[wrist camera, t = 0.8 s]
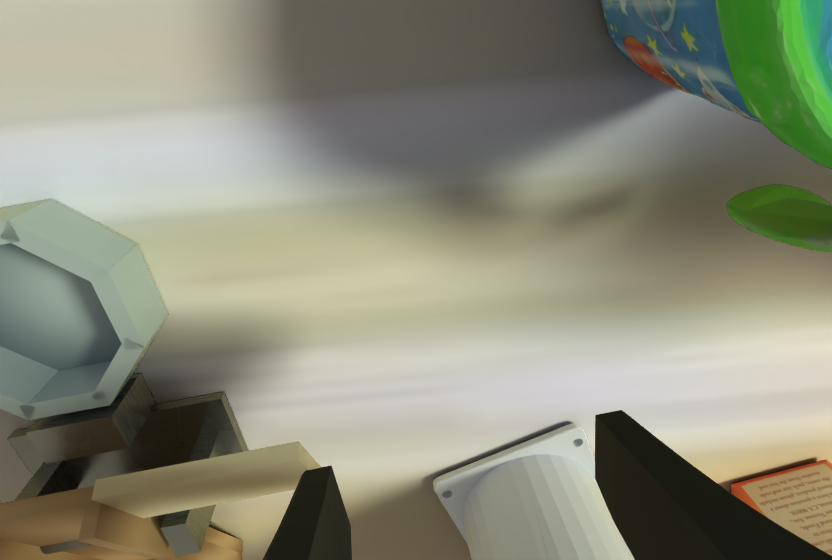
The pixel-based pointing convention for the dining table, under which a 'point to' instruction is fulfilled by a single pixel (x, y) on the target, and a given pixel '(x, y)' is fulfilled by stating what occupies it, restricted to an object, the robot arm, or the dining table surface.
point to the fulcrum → (130, 448)
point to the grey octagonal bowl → (69, 310)
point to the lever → (145, 508)
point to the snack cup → (747, 86)
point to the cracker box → (795, 501)
